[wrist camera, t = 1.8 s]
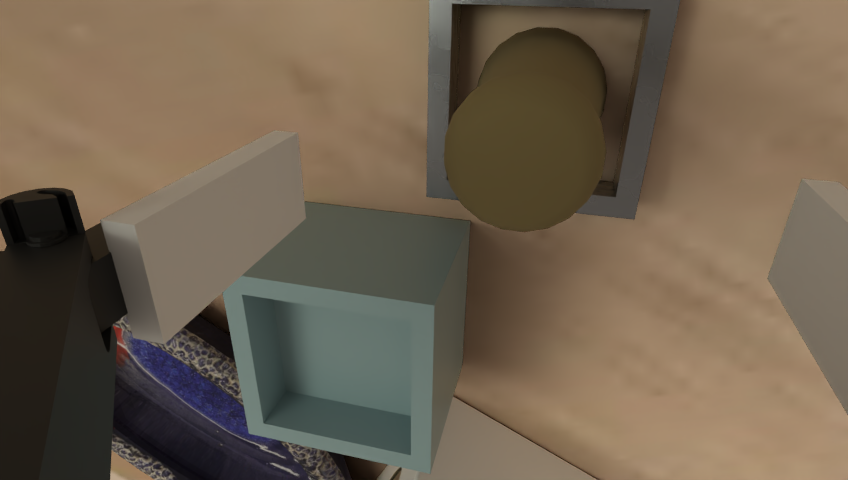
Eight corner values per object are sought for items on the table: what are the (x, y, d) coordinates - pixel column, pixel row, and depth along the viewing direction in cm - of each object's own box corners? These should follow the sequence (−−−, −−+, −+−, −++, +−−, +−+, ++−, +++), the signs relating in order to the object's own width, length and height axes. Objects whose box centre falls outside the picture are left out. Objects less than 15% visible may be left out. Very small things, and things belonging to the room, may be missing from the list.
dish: (313, 531, 47) (286, 589, 42) (11, 314, 44) (-51, 352, 40) (416, 450, 39) (396, 510, 35) (58, 180, 36) (-12, 209, 32)
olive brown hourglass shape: (607, 18, 24) (626, 55, 14) (606, 152, 26) (622, 259, 17) (471, 35, 25) (406, 77, 16) (482, 159, 28) (432, 260, 18)
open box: (302, 201, 32) (218, 272, 24) (470, 220, 30) (434, 305, 22) (315, 338, 36) (248, 433, 29) (462, 364, 34) (430, 474, 27)
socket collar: (440, -24, 25) (429, -23, 23) (675, -20, 22) (684, -18, 21) (435, 182, 29) (426, 196, 27) (631, 203, 27) (634, 219, 25)
